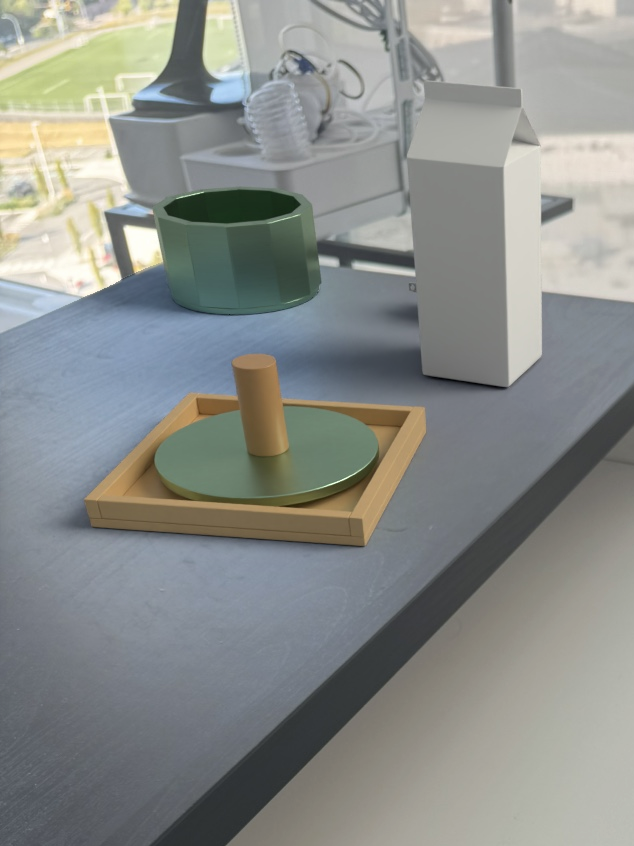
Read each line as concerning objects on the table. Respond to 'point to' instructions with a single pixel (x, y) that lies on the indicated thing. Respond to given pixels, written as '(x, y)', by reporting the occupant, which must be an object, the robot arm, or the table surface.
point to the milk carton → (476, 233)
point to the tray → (305, 522)
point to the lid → (266, 447)
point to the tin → (238, 249)
